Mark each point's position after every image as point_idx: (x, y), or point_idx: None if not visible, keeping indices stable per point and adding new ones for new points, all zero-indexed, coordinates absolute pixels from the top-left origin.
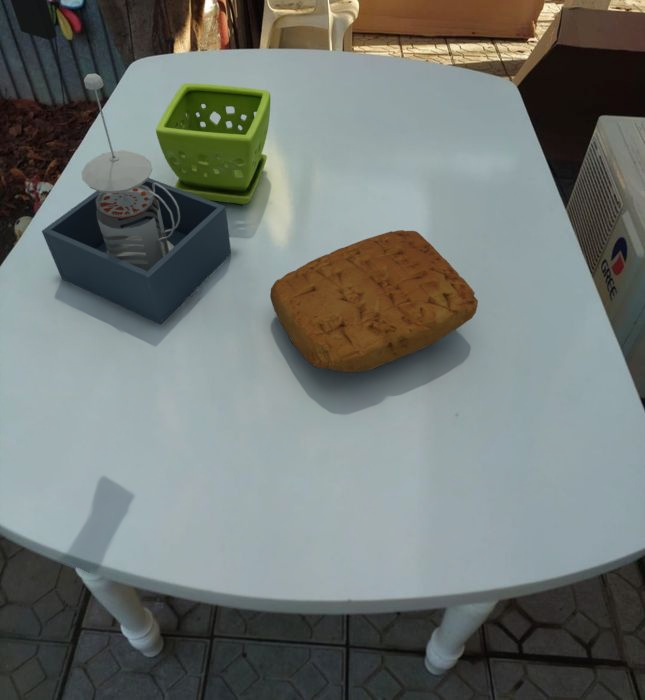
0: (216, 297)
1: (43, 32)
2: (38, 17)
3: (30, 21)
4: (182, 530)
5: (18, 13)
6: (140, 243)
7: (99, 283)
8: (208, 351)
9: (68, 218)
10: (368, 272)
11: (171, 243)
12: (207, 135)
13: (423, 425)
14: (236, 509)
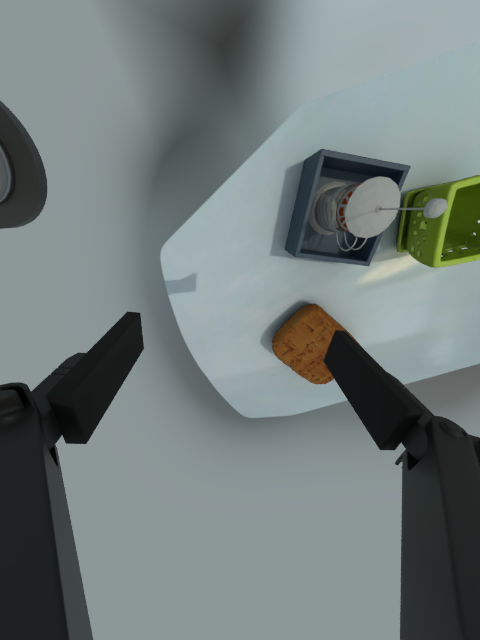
0: (311, 267)
1: (327, 360)
2: (332, 370)
3: (335, 353)
4: (192, 314)
5: (342, 344)
6: (328, 226)
7: (298, 203)
8: (274, 281)
9: (340, 159)
10: (326, 350)
11: None
12: (440, 234)
13: (266, 367)
14: (208, 326)
